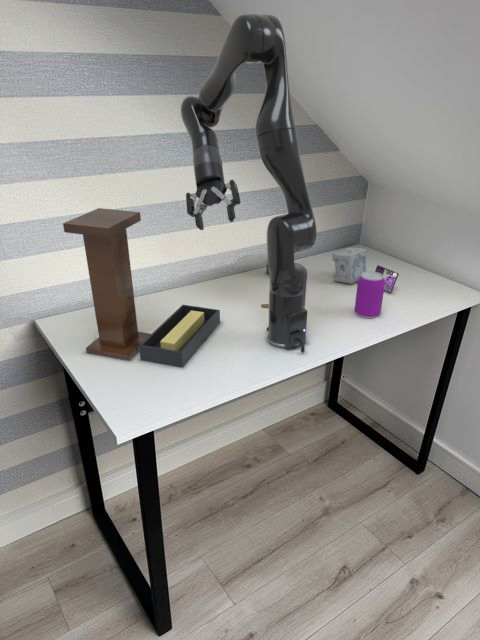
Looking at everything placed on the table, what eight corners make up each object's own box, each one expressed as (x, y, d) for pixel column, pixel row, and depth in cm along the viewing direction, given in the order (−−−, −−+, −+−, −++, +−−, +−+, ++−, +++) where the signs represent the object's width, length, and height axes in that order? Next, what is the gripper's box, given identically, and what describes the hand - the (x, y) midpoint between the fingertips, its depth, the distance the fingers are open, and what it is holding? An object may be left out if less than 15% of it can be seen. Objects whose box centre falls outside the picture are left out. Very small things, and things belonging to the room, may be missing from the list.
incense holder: (345, 273, 180) (348, 244, 174) (366, 279, 175) (369, 249, 170) (329, 280, 173) (332, 250, 168) (350, 287, 168) (354, 256, 163)
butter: (191, 320, 143) (191, 310, 142) (204, 322, 142) (204, 312, 141) (161, 352, 128) (160, 341, 126) (175, 355, 127) (174, 343, 125)
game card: (376, 264, 168) (396, 273, 162) (385, 266, 171) (406, 275, 165) (368, 284, 170) (389, 293, 164) (378, 285, 173) (398, 294, 167)
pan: (183, 317, 146) (182, 304, 144) (220, 323, 144) (219, 309, 142) (140, 360, 125) (138, 345, 123) (182, 367, 123) (181, 352, 121)
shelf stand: (114, 330, 139) (96, 207, 122) (154, 337, 136) (142, 212, 120) (84, 354, 127) (60, 223, 111) (127, 362, 124) (109, 228, 108)
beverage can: (377, 321, 146) (382, 282, 141) (351, 316, 149) (355, 277, 143) (383, 311, 153) (388, 273, 147) (357, 306, 155) (362, 268, 149)
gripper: (177, 169, 134) (185, 227, 132) (227, 153, 130) (236, 212, 128) (190, 181, 141) (197, 236, 139) (238, 166, 138) (246, 223, 135)
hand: (216, 225), depth 133 cm, fingers open, 8 cm apart
